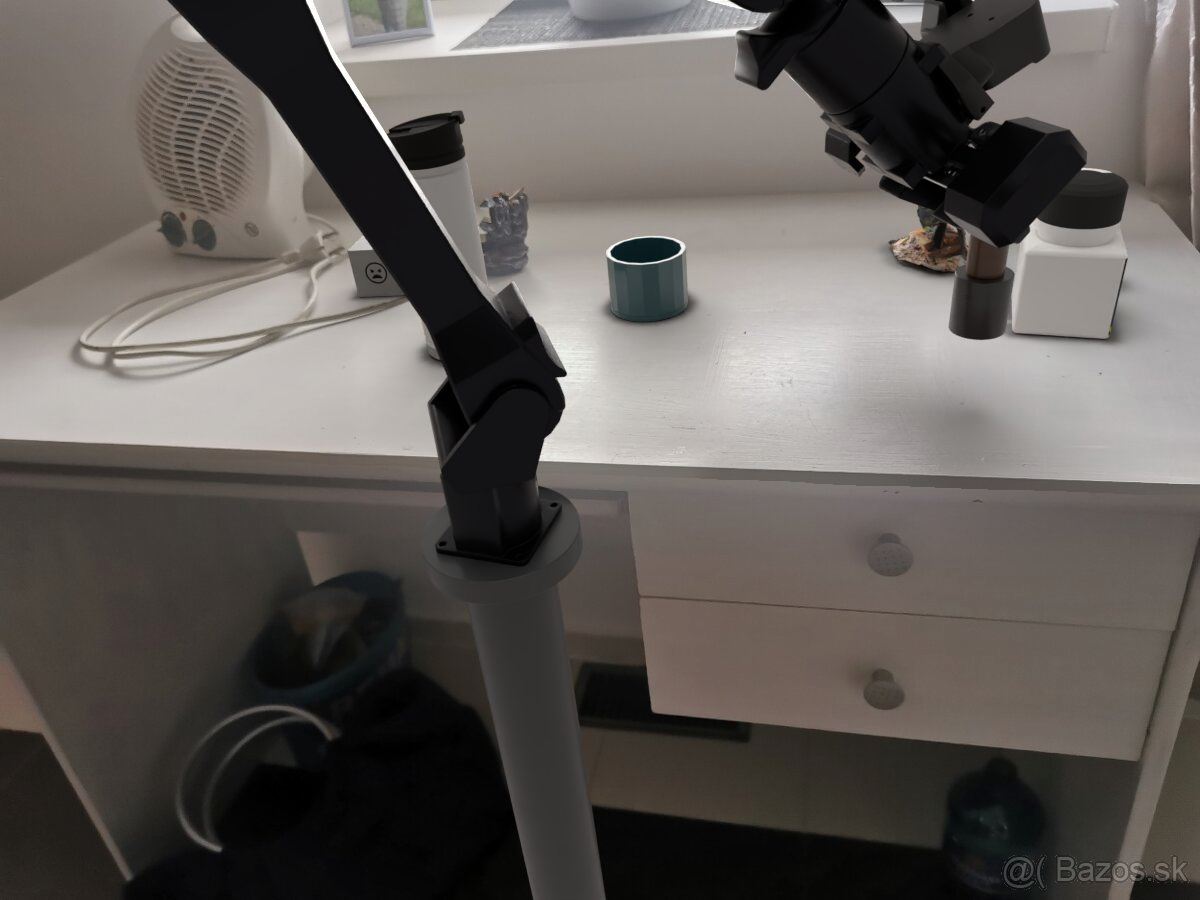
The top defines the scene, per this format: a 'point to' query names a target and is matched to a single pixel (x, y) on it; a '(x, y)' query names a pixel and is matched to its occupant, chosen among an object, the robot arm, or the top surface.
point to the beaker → (647, 278)
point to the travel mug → (443, 182)
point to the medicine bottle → (1073, 260)
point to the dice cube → (371, 272)
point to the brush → (981, 292)
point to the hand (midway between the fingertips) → (1009, 230)
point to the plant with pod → (932, 244)
